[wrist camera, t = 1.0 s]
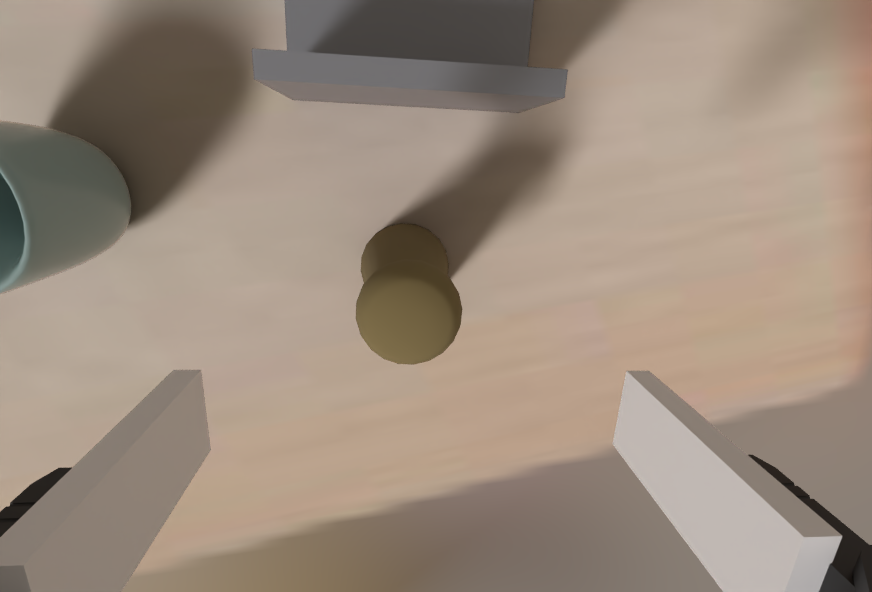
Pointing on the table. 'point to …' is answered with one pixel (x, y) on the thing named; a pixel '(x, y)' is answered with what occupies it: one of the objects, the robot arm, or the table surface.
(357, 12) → the rack
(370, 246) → the cork
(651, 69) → the table surface
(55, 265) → the cup
